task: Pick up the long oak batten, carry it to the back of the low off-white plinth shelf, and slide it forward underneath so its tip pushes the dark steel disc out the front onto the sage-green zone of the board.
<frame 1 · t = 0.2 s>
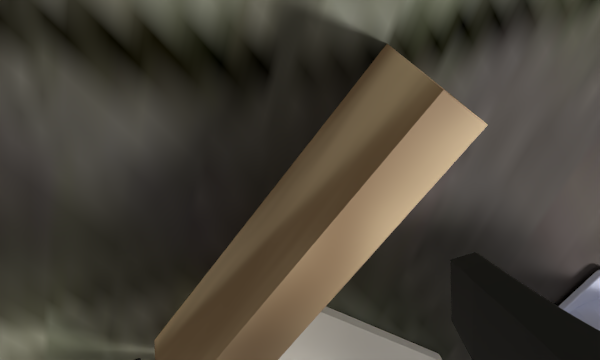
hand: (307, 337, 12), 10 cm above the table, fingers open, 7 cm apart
blade batten: (278, 214, 23), on the table
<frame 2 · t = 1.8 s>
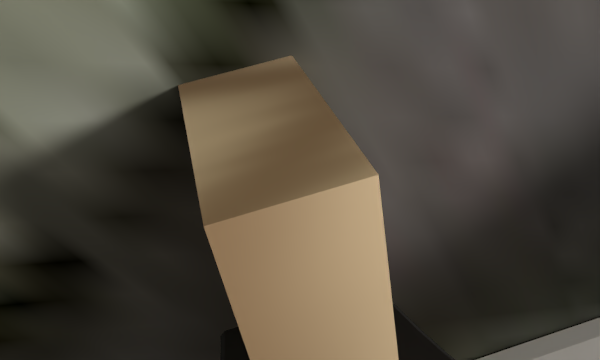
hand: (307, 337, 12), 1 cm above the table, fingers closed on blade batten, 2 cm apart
blade batten: (304, 342, 15), on the table, touching gripper
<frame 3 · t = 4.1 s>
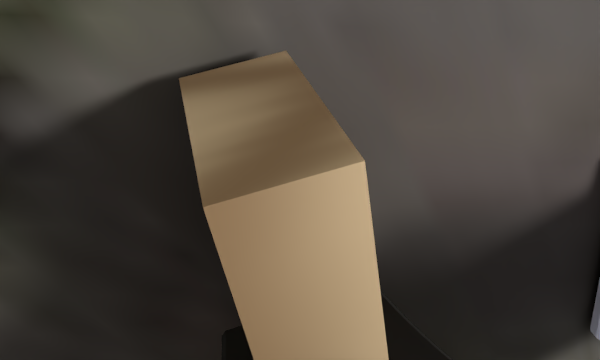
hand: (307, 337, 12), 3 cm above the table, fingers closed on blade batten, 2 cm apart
blade batten: (299, 331, 15), point 1 cm above the table, touching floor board, gripper
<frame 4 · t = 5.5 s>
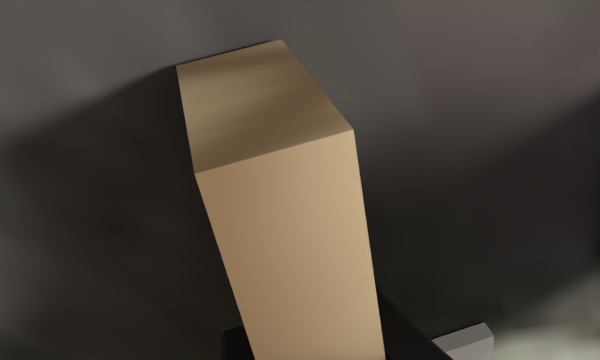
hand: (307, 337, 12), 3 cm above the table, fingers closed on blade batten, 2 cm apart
blade batten: (298, 325, 15), on the table, touching gripper
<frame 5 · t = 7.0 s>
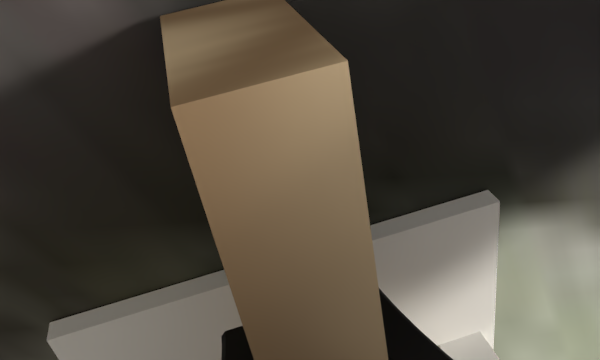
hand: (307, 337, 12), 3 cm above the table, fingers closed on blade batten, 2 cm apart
blade batten: (293, 303, 15), point 1 cm above the table, touching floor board, gripper, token
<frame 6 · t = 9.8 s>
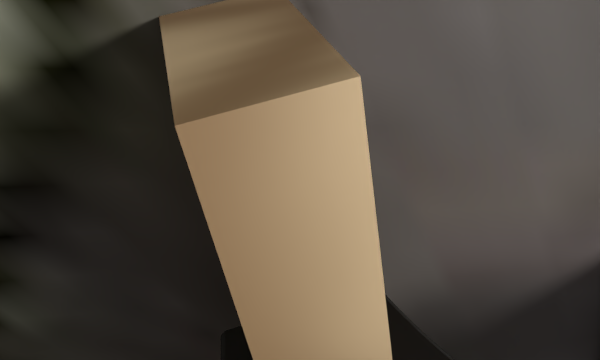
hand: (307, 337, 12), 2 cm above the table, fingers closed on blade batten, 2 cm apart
blade batten: (293, 303, 15), on the table, touching gripper
when the fingers open (2 cm above the table, at t = 9.8 s): blade batten stays where it is, on the table.
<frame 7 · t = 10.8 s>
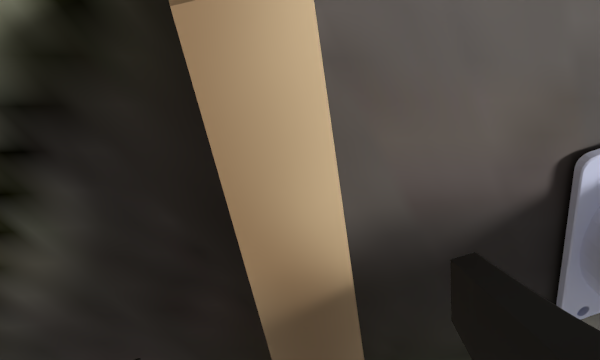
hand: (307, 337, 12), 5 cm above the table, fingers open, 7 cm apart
blade batten: (271, 221, 17), on the table
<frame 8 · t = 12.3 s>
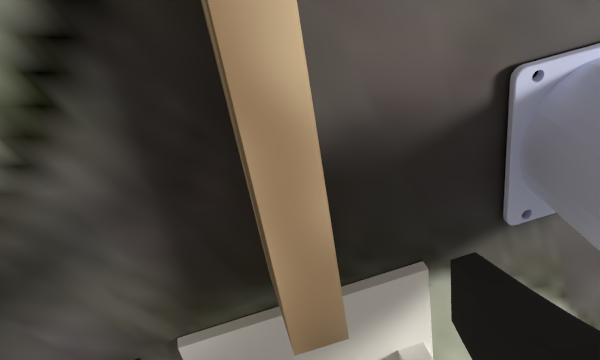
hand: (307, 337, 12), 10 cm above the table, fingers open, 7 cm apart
blade batten: (259, 113, 21), on the table
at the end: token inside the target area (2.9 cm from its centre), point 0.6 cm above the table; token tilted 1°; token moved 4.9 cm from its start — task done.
